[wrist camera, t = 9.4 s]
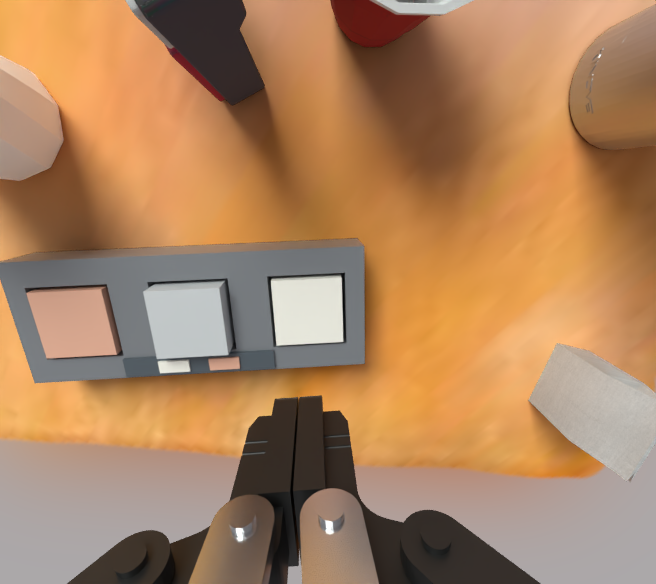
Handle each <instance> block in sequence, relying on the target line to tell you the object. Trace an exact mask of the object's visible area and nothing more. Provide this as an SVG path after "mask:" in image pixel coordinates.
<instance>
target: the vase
mask: <svg viewBox="0 0 656 584" xmlns="http://www.w3.org/2000/svg"><path fill="white" fill-rule="evenodd" d="M63 141H64V138H63V132H62V126H61V120H60V114H59V108H58V105H57V103H56V102H55V101H54V99H53V98H52V97H51V95H50V94H49V93H48V91H47V90H46V88H45V87H44V86H43V84H42V83H41V82H40V80H39V79H38V78H37V76H36V75H35V74H34V73H33V72H31V71H30V70H28V69H26V68H24V67H22V66H20V65H19V64H17V63H15V62H13V61H11V60H9V59H7V58H5V57H3V56H1V55H0V179H7V180H16V181H21V180H25V179H27V178H29V177H31V176H33V175H36V174H38V173H40V172H42V171H44V170H46V169H49V168H51V166H52V164H53V162H54V160H55V158H56V156H57V154H58V152H59V150H60V147H61V145H62V143H63Z"/></svg>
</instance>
